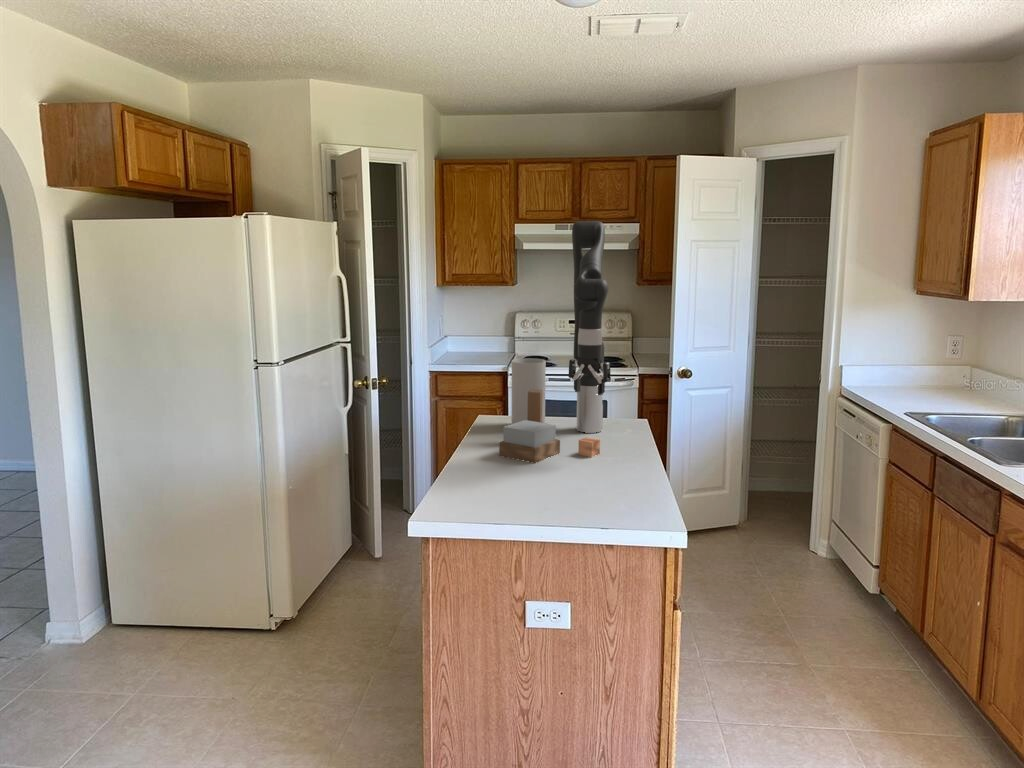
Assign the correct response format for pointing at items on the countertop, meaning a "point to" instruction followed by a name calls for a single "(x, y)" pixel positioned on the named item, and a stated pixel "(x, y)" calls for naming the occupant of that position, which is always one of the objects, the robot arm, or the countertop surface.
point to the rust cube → (589, 447)
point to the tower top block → (529, 433)
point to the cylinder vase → (526, 385)
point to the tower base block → (529, 451)
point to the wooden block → (535, 406)
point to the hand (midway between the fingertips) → (588, 393)
